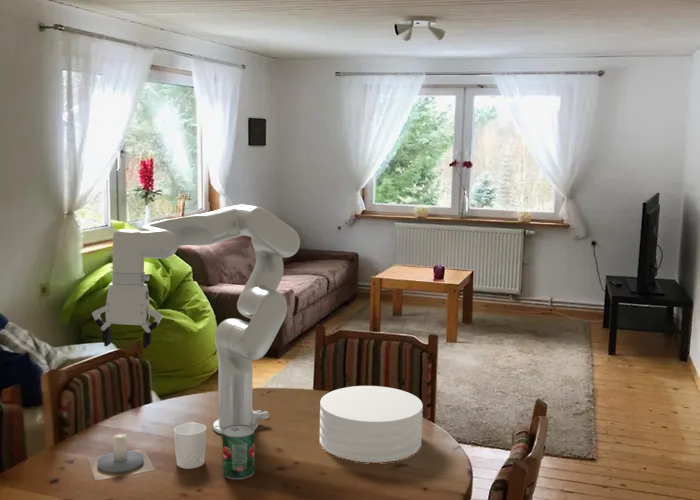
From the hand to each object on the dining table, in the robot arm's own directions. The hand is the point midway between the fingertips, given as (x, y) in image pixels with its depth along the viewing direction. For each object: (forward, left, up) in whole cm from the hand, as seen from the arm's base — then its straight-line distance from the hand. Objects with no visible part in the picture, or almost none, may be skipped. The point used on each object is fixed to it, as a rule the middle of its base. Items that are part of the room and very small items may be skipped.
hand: (126, 346), depth 188 cm
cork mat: (+3, +5, -30) cm, 30 cm away
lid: (+3, +5, -29) cm, 29 cm away
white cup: (-13, +11, -30) cm, 34 cm away
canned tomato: (-23, +19, -30) cm, 42 cm away
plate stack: (-62, +15, -30) cm, 71 cm away
